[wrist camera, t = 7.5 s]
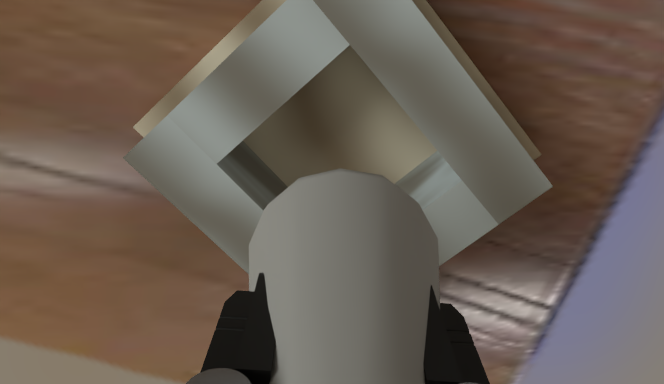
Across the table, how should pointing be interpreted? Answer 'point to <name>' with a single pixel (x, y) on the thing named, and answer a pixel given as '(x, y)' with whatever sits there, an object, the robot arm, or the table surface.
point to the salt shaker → (346, 280)
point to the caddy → (337, 121)
